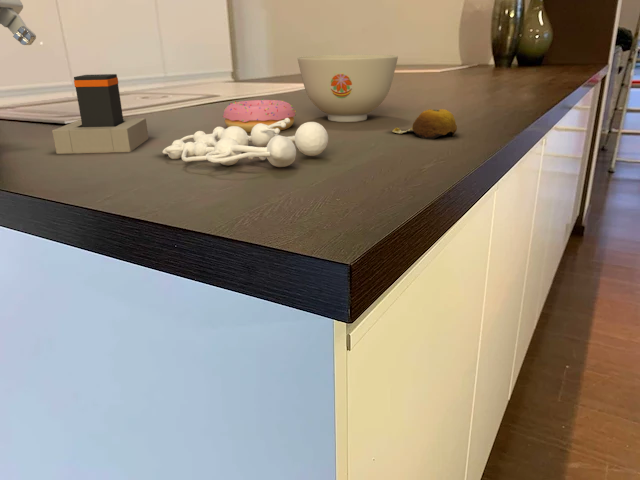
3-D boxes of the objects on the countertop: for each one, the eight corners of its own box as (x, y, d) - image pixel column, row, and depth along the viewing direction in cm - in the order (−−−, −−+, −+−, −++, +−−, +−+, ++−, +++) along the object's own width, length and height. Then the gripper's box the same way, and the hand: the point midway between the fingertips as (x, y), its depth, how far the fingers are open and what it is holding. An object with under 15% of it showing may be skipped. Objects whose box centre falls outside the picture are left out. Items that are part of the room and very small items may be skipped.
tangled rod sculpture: (130, 172, 62) (122, 137, 60) (216, 141, 72) (211, 110, 71) (262, 190, 51) (257, 148, 50) (339, 151, 62) (337, 115, 61)
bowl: (410, 116, 92) (413, 54, 88) (369, 130, 79) (370, 59, 76) (330, 111, 100) (329, 54, 96) (280, 123, 87) (277, 58, 83)
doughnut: (209, 130, 82) (206, 102, 80) (261, 121, 89) (259, 95, 88) (259, 137, 75) (257, 107, 73) (310, 127, 83) (310, 99, 81)
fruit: (438, 128, 80) (439, 103, 78) (472, 137, 72) (475, 110, 71) (388, 133, 77) (389, 107, 76) (419, 143, 70) (421, 114, 68)
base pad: (56, 154, 66) (51, 130, 65) (83, 141, 75) (79, 119, 74) (130, 153, 67) (127, 128, 66) (148, 139, 75) (145, 118, 74)
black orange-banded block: (85, 150, 69) (72, 77, 65) (96, 144, 73) (85, 74, 69) (118, 149, 69) (107, 76, 66) (127, 143, 73) (117, 74, 69)
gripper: (-146, -91, 52) (-19, 18, 55) (-26, -56, 71) (62, 24, 75) (-179, -39, 53) (-53, 64, 57) (-53, -18, 72) (35, 58, 76)
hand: (13, 41), depth 66 cm, fingers open, 8 cm apart
